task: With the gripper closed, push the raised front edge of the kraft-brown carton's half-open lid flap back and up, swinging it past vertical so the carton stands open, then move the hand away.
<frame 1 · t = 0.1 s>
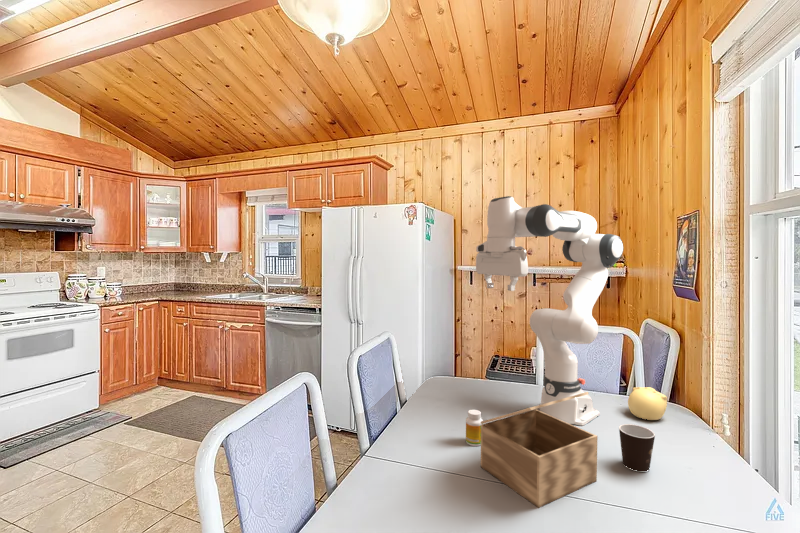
hand: (500, 289, 126), 48 cm above the table, tool pointing down, fingers open, 8 cm apart
sculpture: (646, 417, 142), on the table
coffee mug: (639, 465, 110), on the table
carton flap: (533, 408, 106), point 17 cm above the table, hinge at 30.0°
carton: (536, 473, 105), on the table
supplement bottle: (474, 443, 122), on the table
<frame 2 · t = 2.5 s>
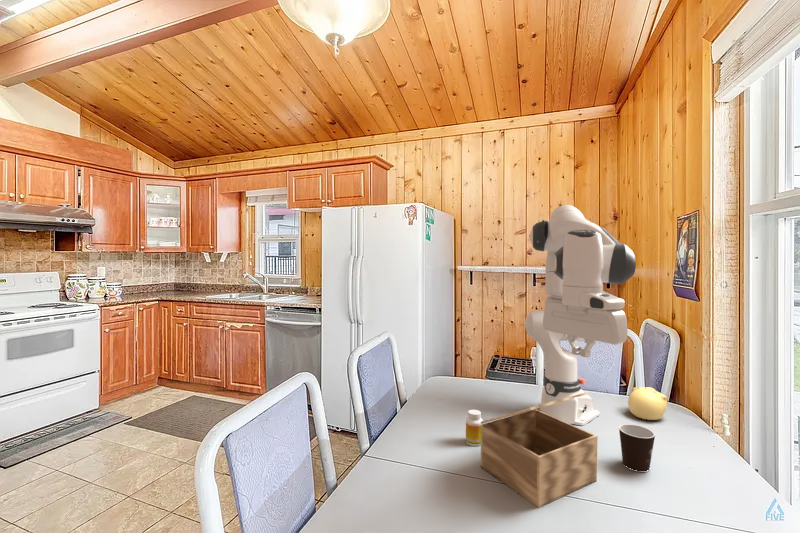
hand: (580, 355, 93), 35 cm above the table, tool pointing down, fingers closed
nothing on the table moved.
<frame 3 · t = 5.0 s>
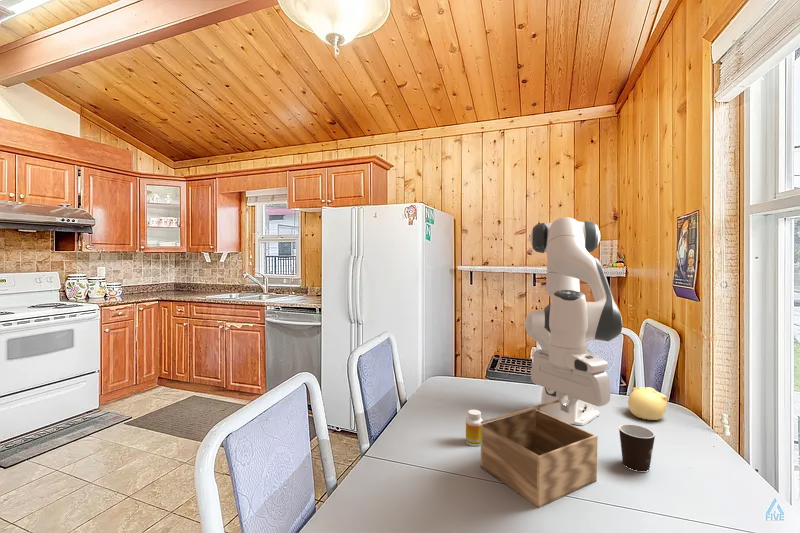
hand: (566, 411, 97), 20 cm above the table, tool pointing down, fingers closed
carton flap: (533, 408, 106), point 17 cm above the table, hinge at 30.1°, touching gripper
everything else where it was.
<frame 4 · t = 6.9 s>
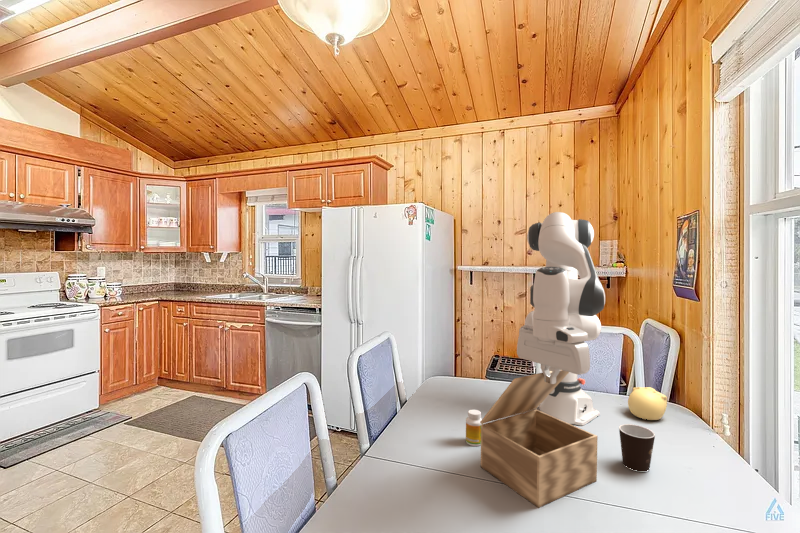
hand: (550, 382, 101), 26 cm above the table, tool pointing down, fingers closed
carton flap: (526, 395, 108), point 20 cm above the table, hinge at 51.7°, touching gripper
everything else where it was.
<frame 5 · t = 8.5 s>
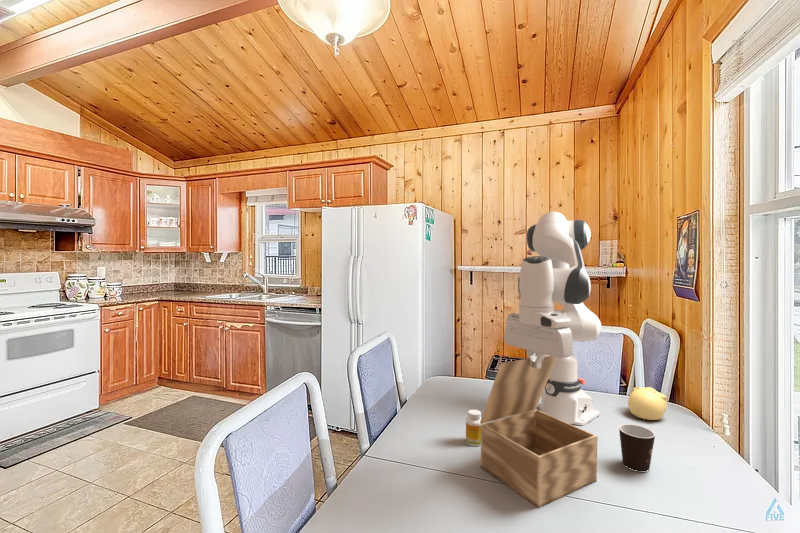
hand: (535, 367, 105), 29 cm above the table, tool pointing down, fingers closed
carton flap: (519, 387, 110), point 22 cm above the table, hinge at 67.4°, touching gripper
everything else where it was.
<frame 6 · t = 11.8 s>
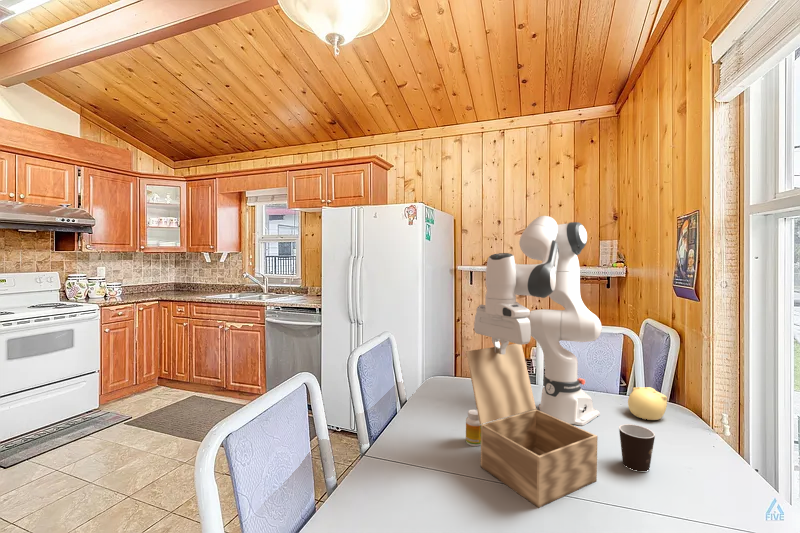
hand: (500, 353, 116), 30 cm above the table, tool pointing down, fingers closed
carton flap: (501, 380, 116), point 22 cm above the table, hinge at 108.2°, touching gripper
everything else where it was.
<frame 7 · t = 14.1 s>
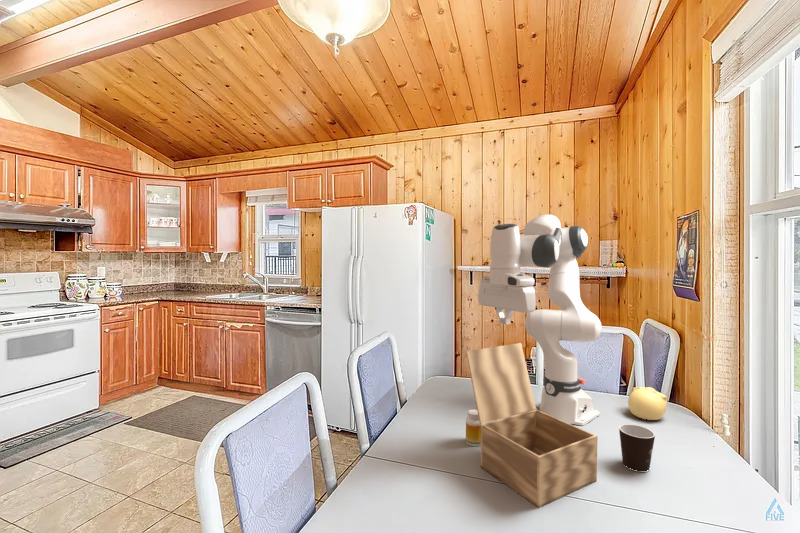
hand: (504, 323, 117), 38 cm above the table, tool pointing down, fingers closed
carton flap: (501, 380, 116), point 22 cm above the table, hinge at 108.3°
everything else where it was.
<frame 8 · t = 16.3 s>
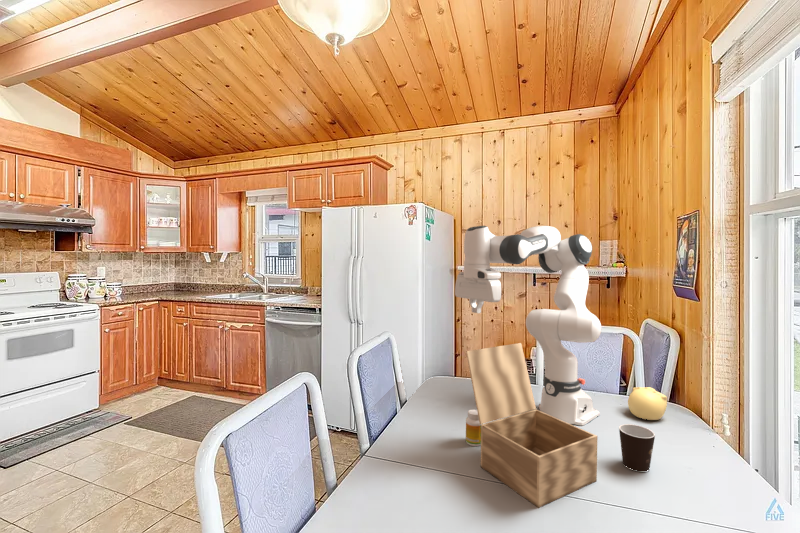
hand: (476, 312, 134), 39 cm above the table, tool pointing down, fingers closed
nothing on the table moved.
at the end: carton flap at +108° (first picture: +30°); the gripper is holding nothing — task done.
